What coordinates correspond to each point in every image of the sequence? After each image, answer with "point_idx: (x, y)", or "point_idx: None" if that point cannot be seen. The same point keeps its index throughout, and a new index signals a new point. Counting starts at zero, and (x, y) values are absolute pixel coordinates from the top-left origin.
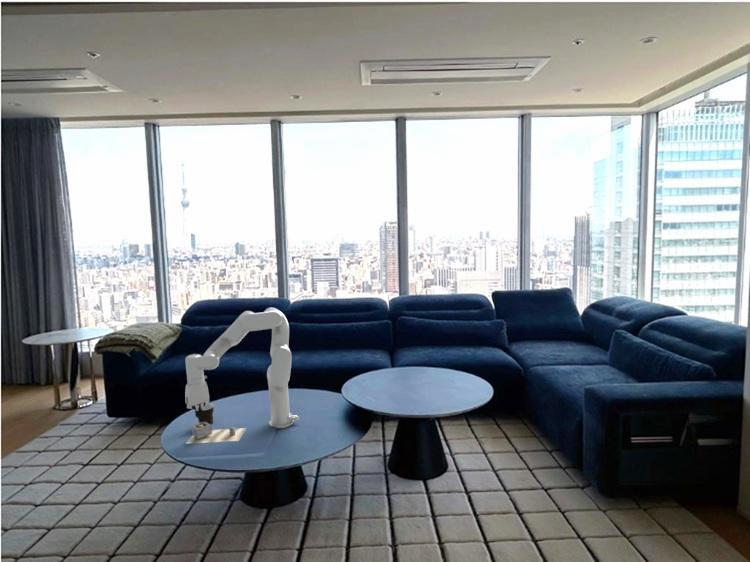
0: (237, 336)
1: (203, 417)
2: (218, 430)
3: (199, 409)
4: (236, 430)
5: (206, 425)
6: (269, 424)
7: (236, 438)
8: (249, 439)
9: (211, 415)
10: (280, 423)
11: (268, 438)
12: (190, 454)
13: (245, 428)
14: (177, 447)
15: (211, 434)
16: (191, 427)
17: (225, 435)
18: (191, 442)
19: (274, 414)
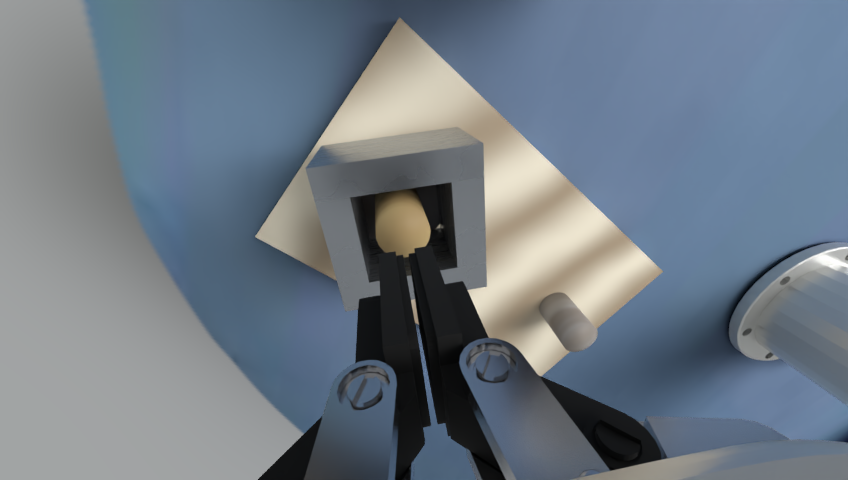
0: None
1: None
2: (535, 175)
3: (442, 396)
4: (606, 264)
5: (449, 269)
6: (752, 308)
7: (540, 357)
8: (581, 365)
9: None
10: (772, 353)
11: (632, 398)
12: (276, 352)
13: (654, 272)
14: (195, 206)
15: None
16: (311, 179)
17: (522, 289)
18: (301, 246)
19: (830, 382)
